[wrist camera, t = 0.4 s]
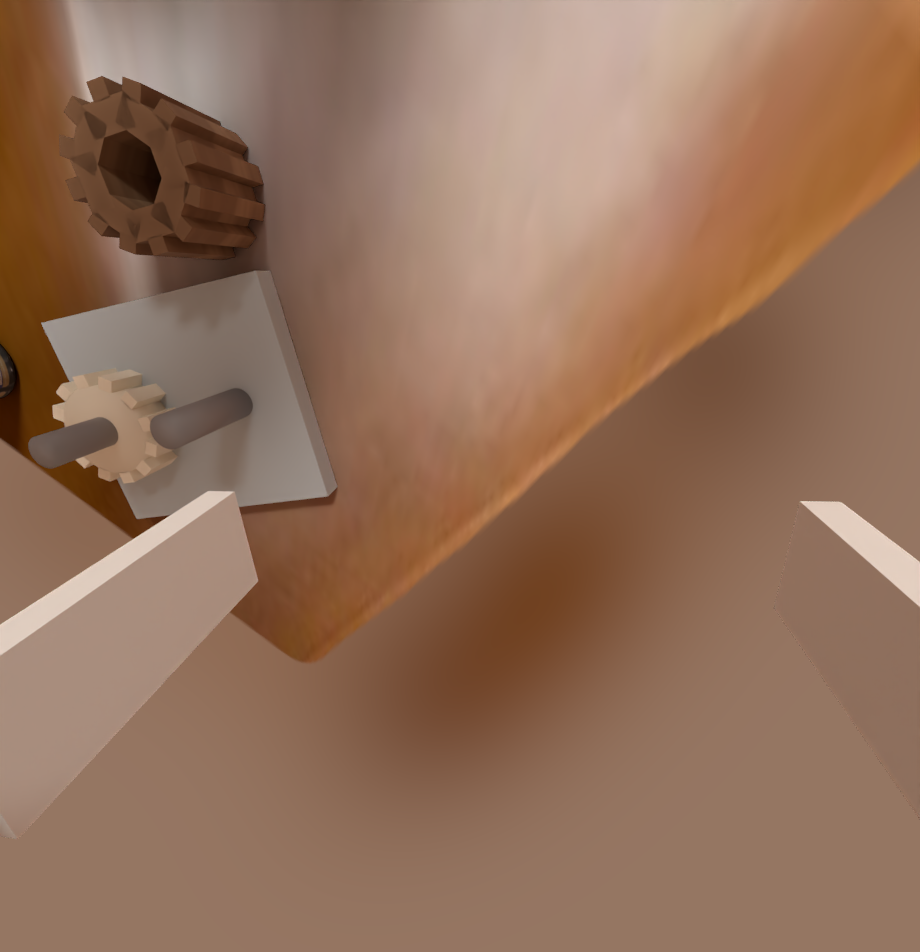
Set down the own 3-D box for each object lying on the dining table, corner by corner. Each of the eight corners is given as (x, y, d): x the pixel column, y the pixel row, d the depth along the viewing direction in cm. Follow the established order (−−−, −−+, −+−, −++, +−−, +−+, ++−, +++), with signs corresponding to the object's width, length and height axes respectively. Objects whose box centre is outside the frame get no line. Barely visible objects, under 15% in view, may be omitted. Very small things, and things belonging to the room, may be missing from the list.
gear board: (63, 321, 40) (-78, 333, 31) (270, 270, 36) (176, 268, 27) (152, 509, 46) (57, 566, 37) (337, 486, 42) (280, 544, 33)
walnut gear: (129, 136, 34) (32, 102, 27) (238, 98, 32) (160, 53, 25) (179, 270, 37) (103, 269, 30) (281, 244, 35) (222, 237, 28)
